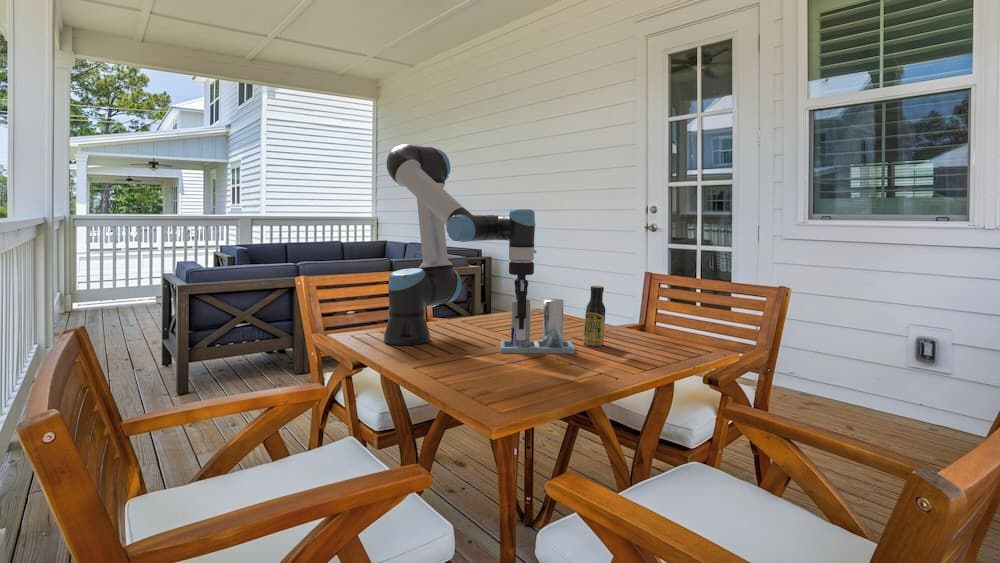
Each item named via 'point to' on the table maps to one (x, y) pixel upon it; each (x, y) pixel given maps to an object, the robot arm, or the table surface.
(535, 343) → the divided tray
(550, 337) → the twin can
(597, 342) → the sauce bottle
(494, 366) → the table surface
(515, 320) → the beverage can
